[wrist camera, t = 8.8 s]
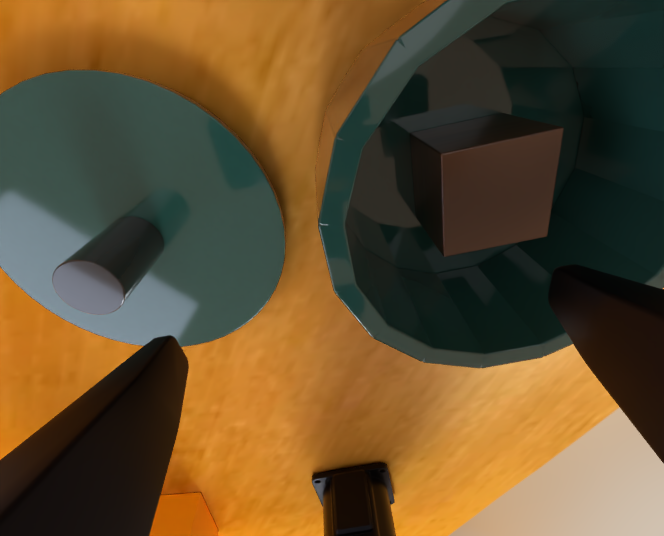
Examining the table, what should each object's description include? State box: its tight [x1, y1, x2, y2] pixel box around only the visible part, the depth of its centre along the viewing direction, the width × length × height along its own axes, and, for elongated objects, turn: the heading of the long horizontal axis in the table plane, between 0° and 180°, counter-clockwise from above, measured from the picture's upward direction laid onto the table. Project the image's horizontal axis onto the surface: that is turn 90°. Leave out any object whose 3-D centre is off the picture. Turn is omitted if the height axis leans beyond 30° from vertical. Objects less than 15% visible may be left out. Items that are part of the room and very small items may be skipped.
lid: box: [0, 70, 286, 347], centre depth 14 cm, size 14×14×5 cm
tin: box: [315, 0, 664, 368], centre depth 13 cm, size 13×13×6 cm
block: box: [410, 113, 564, 257], centre depth 14 cm, size 4×4×4 cm
